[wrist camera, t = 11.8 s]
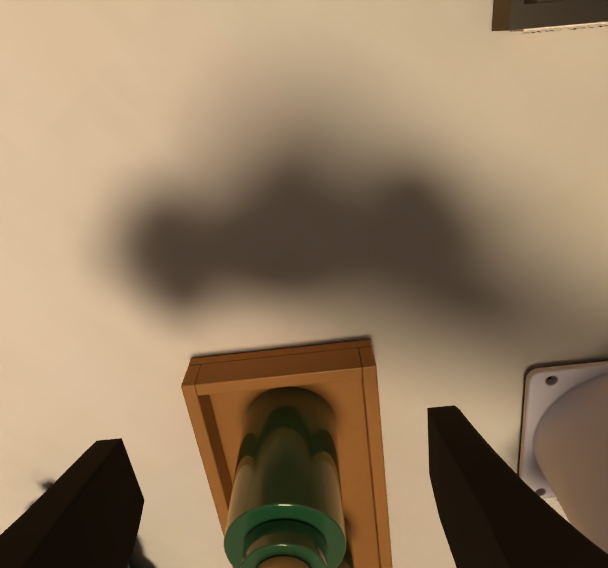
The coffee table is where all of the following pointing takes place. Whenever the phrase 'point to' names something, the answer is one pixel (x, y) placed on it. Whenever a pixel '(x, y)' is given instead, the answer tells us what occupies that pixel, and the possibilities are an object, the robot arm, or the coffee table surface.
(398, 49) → the coffee table surface
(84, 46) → the coffee table surface
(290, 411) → the green bottle
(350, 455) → the tray
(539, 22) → the figurine
